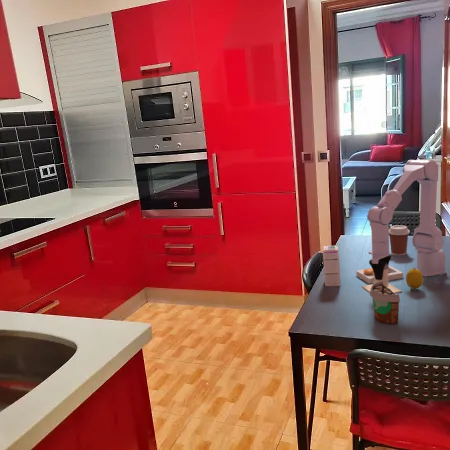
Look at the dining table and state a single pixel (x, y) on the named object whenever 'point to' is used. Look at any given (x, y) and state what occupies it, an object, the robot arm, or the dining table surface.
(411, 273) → the lemon
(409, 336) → the dining table surface
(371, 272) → the orange dome button
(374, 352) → the dining table surface
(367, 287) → the birch board
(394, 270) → the beige flat frame
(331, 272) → the syrup box
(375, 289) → the food container
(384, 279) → the cylinder
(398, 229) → the coffee cup
